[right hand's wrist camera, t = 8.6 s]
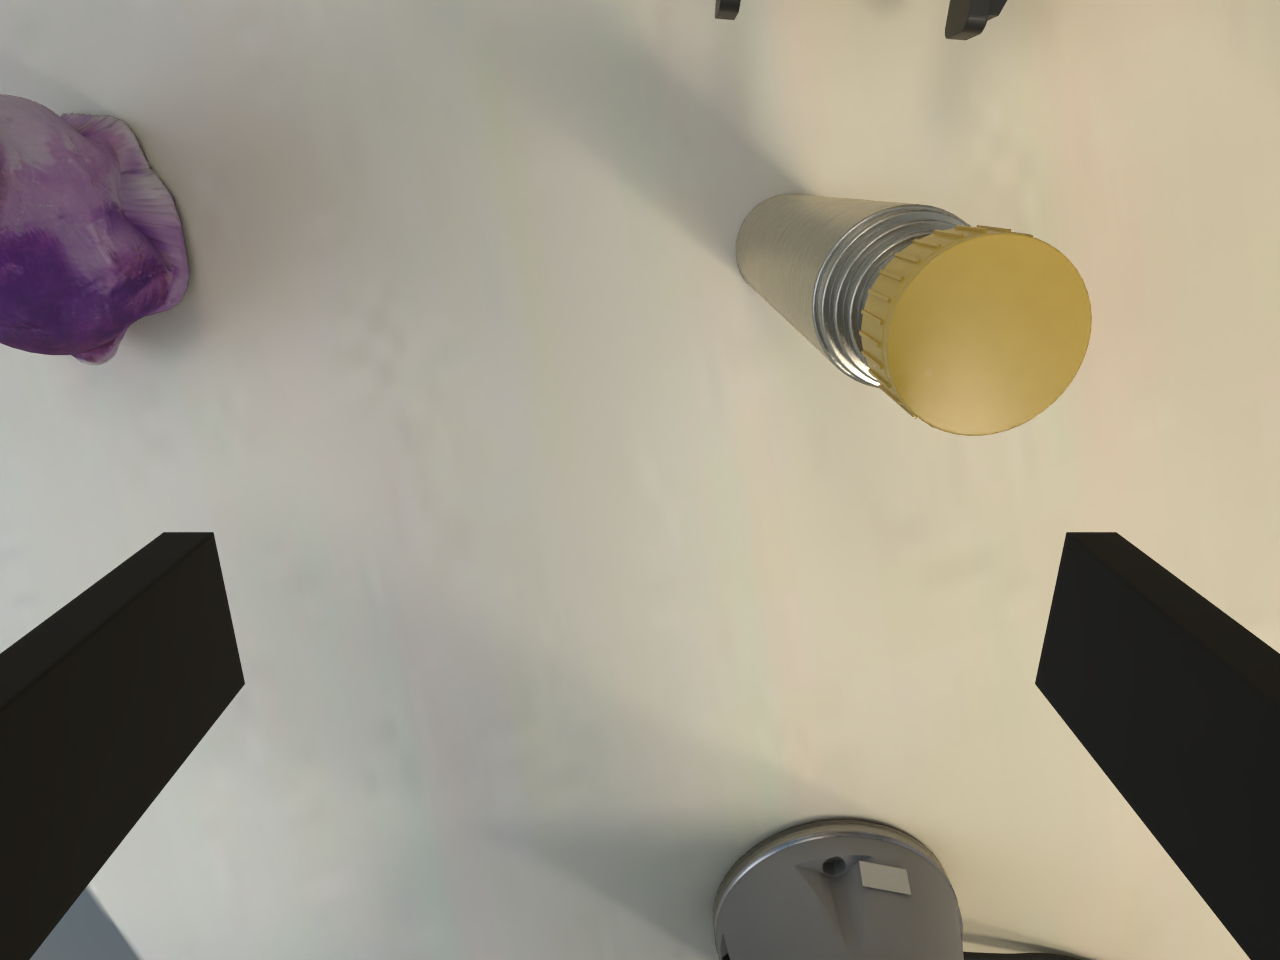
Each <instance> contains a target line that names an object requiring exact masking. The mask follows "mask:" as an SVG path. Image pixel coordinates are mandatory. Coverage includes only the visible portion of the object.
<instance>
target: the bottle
mask: <svg viewBox="0 0 1280 960" xmlns="http://www.w3.org/2000/svg"><path fill="white" fill-rule="evenodd" d="M955 225H963V226H970V225H969V224H967V223H965V222H964V221H963V220H962V219H960V218H959V217H957V216H955V215H954V214H952V213H950V212H947V211H945V210H943V209H940V208H936V207H933V206H927V205H919V204H907V203H895V202H882V201H870V200H858V199H846V198H833V197H821V196H809V195H797V194H784V195H778V196H775V197H772V198H770V199H767V200H765V201H764V202H762V203H761V204H759V205H758V206H757V207H755V208H754V209H753V210H752V211H751V212H750V213H749V215H748V216H747V217H746V219H745V220H744V222H743V224H742V226H741V228H740V231H739V234H738V237H737V243H736V258H737V263H738V266H739V269H740V272H741V274H742V275H743V277H744V279H745V280H746V281H747V283H748V284H749V285H750V286H751V287H752V288H753V289H754V290H755V291H756V292H757V293H758V294H759V295H761V296H762V297H763V298H764V299H765V300H766V301H767V302H768V303H769V304H770V305H771V306H772V307H773V308H774V309H775V310H776V311H777V312H779V313H780V314H781V315H782V316H783V317H784V318H785V319H786V320H787V321H788V322H789V323H790V324H791V325H792V326H793V327H794V328H796V329H797V330H798V331H799V332H800V333H801V334H802V335H803V336H804V337H805V338H806V339H807V340H808V341H809V342H810V343H811V344H812V345H814V346H815V347H816V348H817V349H818V350H819V351H820V352H821V353H822V354H823V355H824V356H825V357H826V358H827V359H828V360H829V361H830V362H832V363H833V364H834V365H835V366H836V367H837V368H838V369H839V370H840V371H842V372H843V373H844V374H846V375H847V376H849V377H850V378H852V379H854V380H856V381H858V382H860V383H863V384H865V385H869V386H873V387H877V388H879V387H878V386H879V385H880V384H879V382H878V381H877V380H876V378H875V377H873V376H872V375H871V374H870V373H869V372H868V369H870V368H869V366H868V364H867V361H866V358H865V357H864V356H863V355H862V353H861V351H863V346H862V336H861V335H859V331H861V327H862V317H863V314H861V311H862V310H864V308H865V304H866V301H867V298H868V296H869V293H868V290H869V289H872V287H873V285H874V283H875V281H876V280H877V278H878V277H879V275H880V273H879V271H880V270H881V269H882V270H884V268H885V267H886V266H887V265H888V264H889V262H890V261H891V260H892V259H893V258H895V256H894V254H895V253H897V252H898V253H900V252H901V251H903V250H904V249H905V248H907V247H908V246H909V245H911V244H912V243H913V240H914V239H921V238H923V237H926V236H928V235H930V234H933V233H934V232H933V231H934V230H936V229H938V230H947V229H953V228H955Z"/></svg>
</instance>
